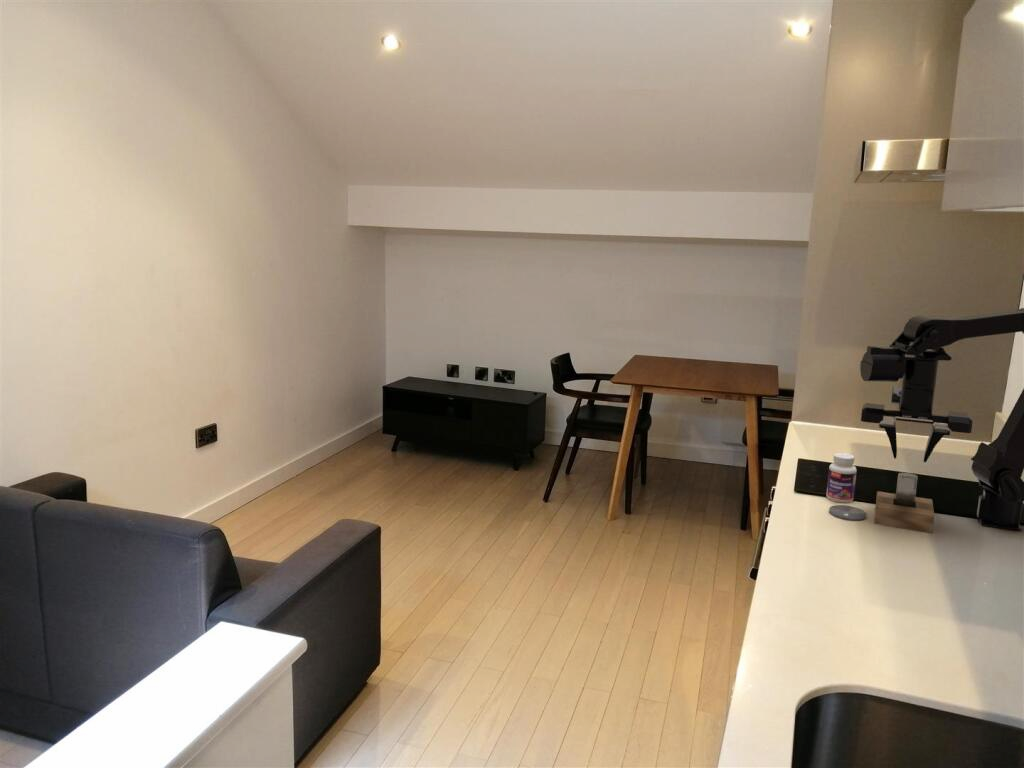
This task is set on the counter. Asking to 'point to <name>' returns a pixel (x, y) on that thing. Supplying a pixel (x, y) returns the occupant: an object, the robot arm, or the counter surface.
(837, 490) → the pill bottle
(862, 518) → the coaster
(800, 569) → the counter surface
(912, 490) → the plug
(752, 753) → the counter surface
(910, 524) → the socket block
